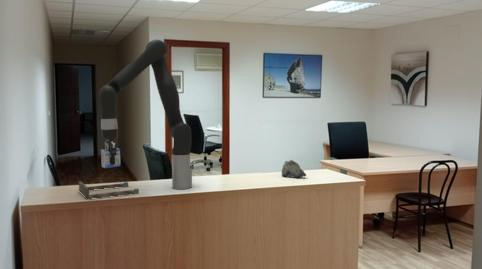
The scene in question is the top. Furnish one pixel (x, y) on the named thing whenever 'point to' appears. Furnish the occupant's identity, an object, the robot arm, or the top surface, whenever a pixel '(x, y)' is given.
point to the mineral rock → (292, 169)
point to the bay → (85, 192)
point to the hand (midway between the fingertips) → (111, 163)
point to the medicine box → (106, 158)
